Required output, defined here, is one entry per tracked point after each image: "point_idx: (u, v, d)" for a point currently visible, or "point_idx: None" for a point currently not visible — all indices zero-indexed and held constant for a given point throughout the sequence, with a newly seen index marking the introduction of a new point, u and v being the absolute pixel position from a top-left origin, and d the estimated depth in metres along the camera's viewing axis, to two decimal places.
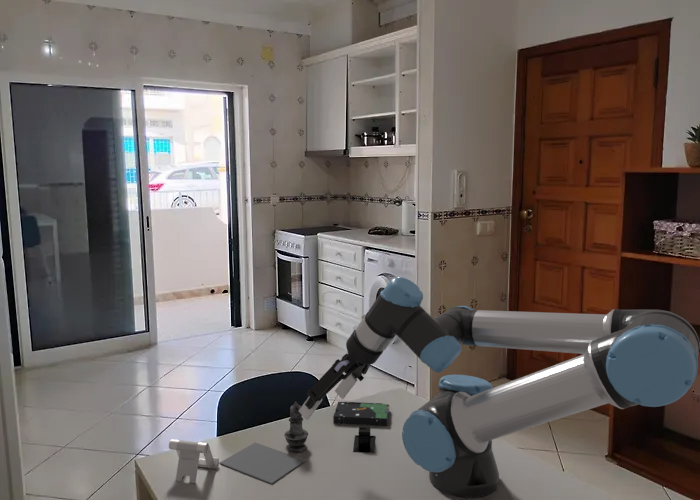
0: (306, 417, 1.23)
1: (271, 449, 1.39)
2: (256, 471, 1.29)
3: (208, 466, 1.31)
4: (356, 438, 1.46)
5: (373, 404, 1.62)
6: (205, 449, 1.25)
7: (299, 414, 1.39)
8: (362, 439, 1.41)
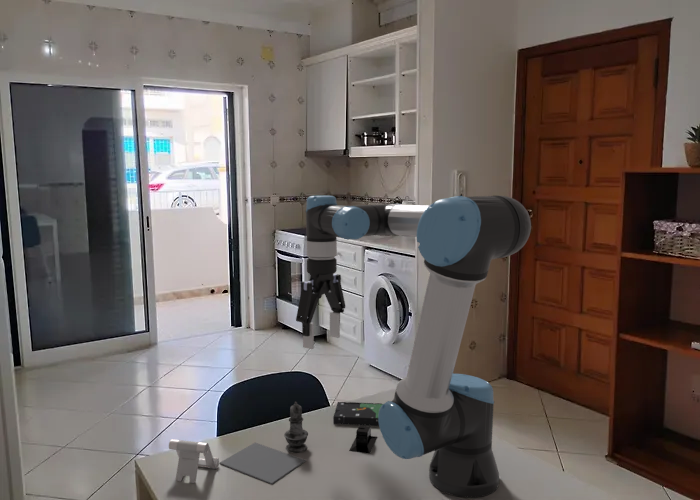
0: (310, 346, 1.41)
1: (271, 449, 1.39)
2: (256, 471, 1.29)
3: (208, 466, 1.31)
4: None
5: (373, 404, 1.62)
6: (205, 449, 1.25)
7: (299, 414, 1.39)
8: (359, 438, 1.41)
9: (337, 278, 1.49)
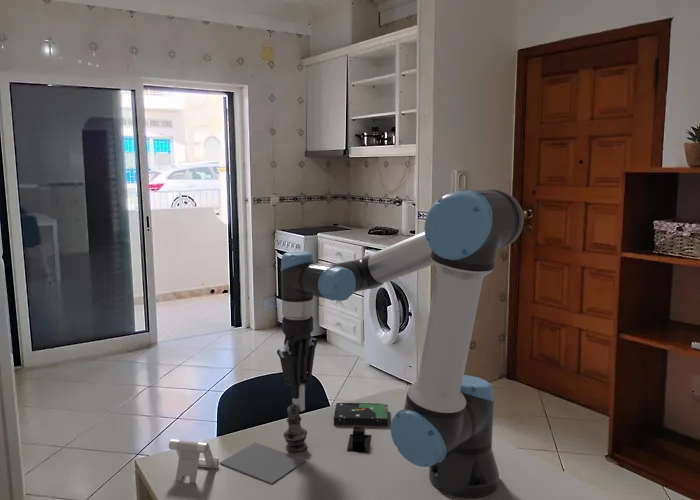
0: (299, 409, 1.39)
1: (271, 449, 1.39)
2: (256, 471, 1.29)
3: (208, 466, 1.31)
4: (351, 437, 1.46)
5: (372, 404, 1.62)
6: (205, 449, 1.25)
7: (296, 415, 1.38)
8: (356, 438, 1.41)
9: (313, 341, 1.42)
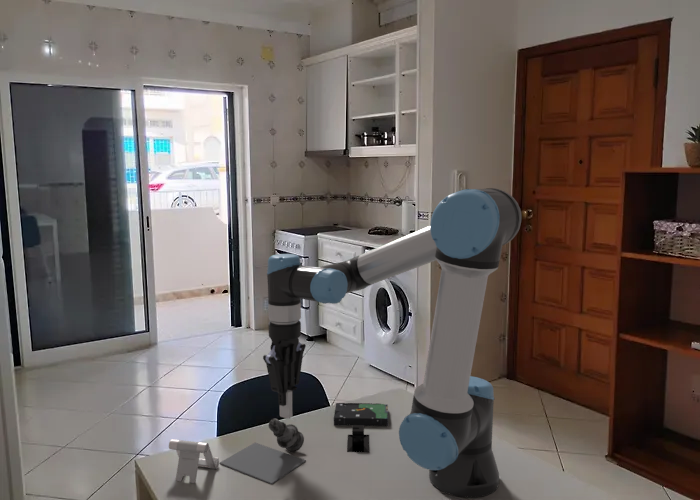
0: (287, 416, 1.35)
1: (271, 449, 1.39)
2: (256, 471, 1.29)
3: (208, 466, 1.31)
4: (349, 438, 1.46)
5: (372, 404, 1.62)
6: (205, 449, 1.25)
7: (280, 429, 1.33)
8: (356, 438, 1.41)
9: (301, 347, 1.38)
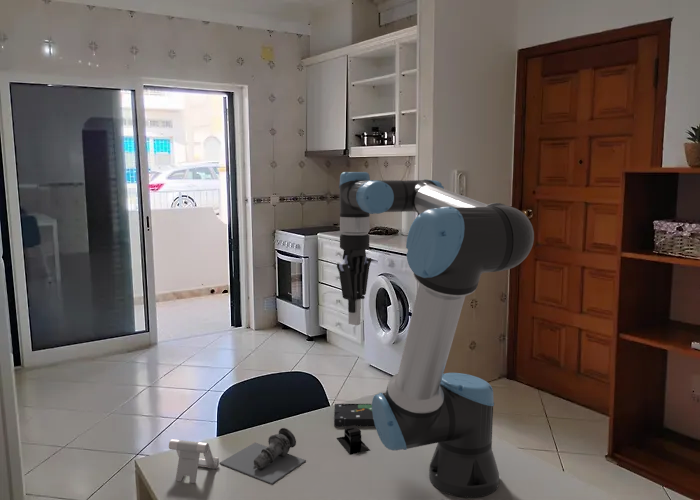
0: (356, 323, 1.47)
1: None
2: (256, 471, 1.29)
3: (208, 466, 1.31)
4: (341, 440, 1.44)
5: (371, 404, 1.62)
6: (205, 449, 1.25)
7: (266, 463, 1.30)
8: (354, 439, 1.41)
9: (368, 260, 1.49)
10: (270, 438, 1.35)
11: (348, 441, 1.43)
